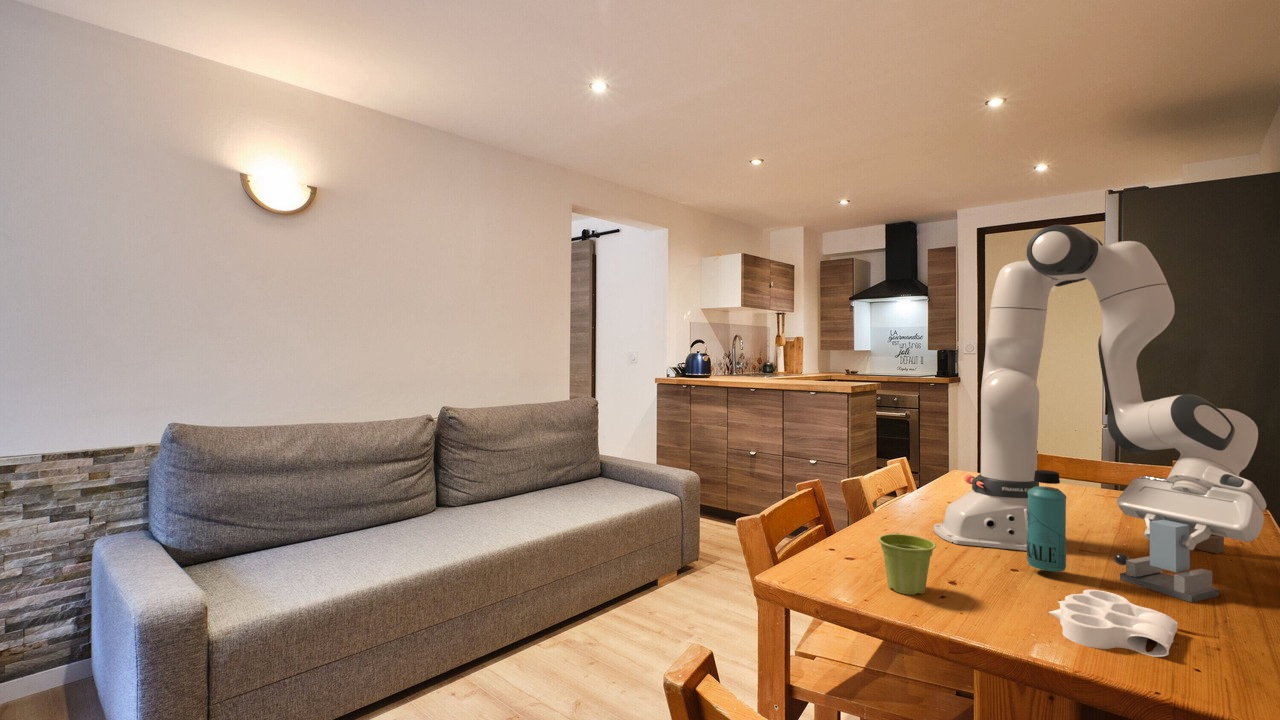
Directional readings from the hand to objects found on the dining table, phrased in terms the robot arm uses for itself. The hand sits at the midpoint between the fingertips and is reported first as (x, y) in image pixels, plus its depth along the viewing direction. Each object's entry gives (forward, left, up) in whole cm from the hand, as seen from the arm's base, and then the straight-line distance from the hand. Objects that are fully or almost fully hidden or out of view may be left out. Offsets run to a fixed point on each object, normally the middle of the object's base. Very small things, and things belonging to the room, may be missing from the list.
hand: (1167, 542), depth 107 cm
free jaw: (-3, +5, -7) cm, 9 cm away
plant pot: (-47, -7, -9) cm, 48 cm away
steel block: (+1, 0, -5) cm, 5 cm away
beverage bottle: (-18, +5, -9) cm, 20 cm away
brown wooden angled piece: (+22, +28, -9) cm, 36 cm away
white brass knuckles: (-21, -20, -9) cm, 30 cm away
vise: (0, 0, -8) cm, 8 cm away
